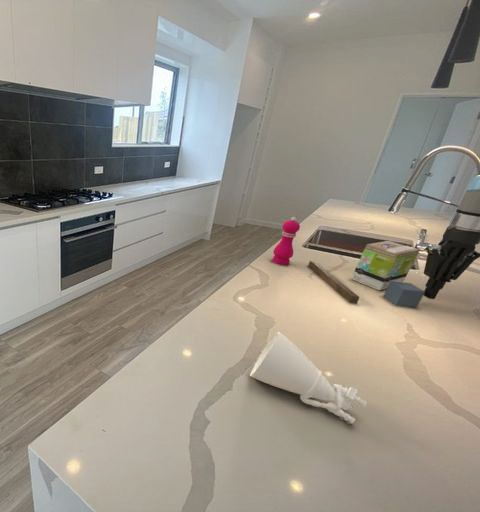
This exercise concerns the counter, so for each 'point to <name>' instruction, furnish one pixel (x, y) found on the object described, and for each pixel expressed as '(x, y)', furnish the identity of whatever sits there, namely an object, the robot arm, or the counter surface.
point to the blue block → (403, 294)
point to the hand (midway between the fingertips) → (428, 296)
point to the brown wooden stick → (334, 282)
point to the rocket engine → (302, 377)
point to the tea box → (384, 264)
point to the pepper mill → (286, 242)
